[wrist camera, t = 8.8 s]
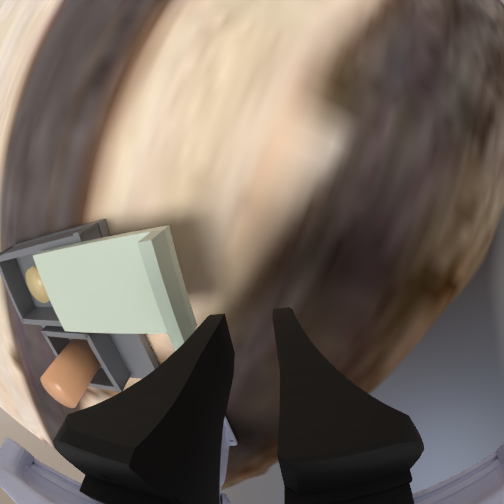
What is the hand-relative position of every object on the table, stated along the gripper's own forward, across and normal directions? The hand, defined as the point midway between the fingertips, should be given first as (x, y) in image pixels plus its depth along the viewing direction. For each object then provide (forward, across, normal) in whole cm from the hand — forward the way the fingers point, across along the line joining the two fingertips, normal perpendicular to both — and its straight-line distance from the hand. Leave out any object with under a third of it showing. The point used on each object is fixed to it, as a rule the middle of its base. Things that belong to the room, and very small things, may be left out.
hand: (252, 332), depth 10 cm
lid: (+6, +11, 0) cm, 12 cm away
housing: (+9, +18, +4) cm, 21 cm away
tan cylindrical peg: (+8, +18, +8) cm, 22 cm away
